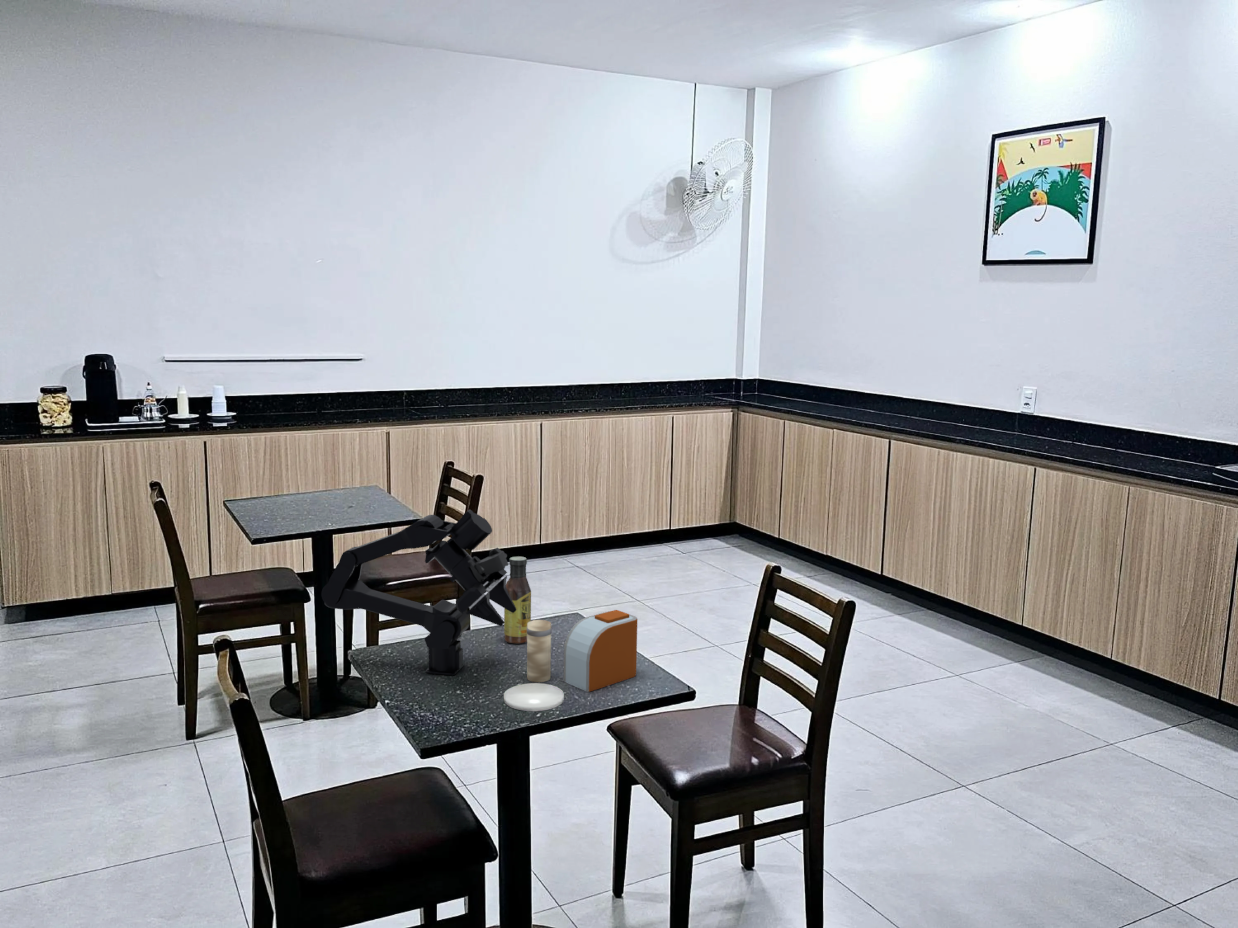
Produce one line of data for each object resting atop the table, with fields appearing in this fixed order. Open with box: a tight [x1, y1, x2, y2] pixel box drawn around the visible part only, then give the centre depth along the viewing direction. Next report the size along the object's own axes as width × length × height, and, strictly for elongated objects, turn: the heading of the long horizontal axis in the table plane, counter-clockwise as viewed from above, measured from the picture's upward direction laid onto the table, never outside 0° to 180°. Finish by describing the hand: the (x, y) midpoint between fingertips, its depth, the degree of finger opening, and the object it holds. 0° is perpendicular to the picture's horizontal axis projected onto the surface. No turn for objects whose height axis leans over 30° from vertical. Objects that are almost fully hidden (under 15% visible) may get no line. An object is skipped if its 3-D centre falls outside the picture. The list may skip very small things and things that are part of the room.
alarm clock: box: [562, 609, 638, 693], centre depth 213 cm, size 15×8×14 cm, turn 133°
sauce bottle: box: [503, 556, 532, 645], centre depth 235 cm, size 7×6×20 cm
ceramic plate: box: [503, 682, 565, 712], centre depth 202 cm, size 12×12×1 cm
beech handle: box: [526, 619, 553, 683], centre depth 212 cm, size 5×5×12 cm
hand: (509, 617), depth 212 cm, fingers open, 9 cm apart
